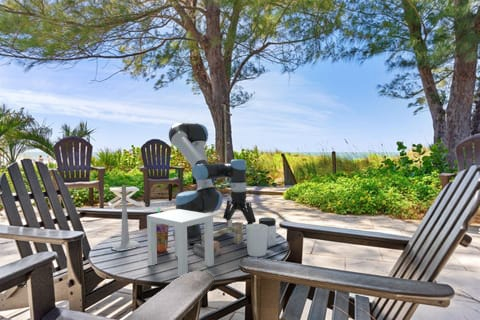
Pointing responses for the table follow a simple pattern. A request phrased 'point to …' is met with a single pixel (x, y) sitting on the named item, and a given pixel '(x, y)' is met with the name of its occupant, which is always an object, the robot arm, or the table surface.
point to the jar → (270, 229)
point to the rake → (236, 228)
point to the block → (216, 246)
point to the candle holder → (256, 239)
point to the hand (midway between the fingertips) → (239, 234)
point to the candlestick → (124, 226)
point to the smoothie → (161, 236)
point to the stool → (180, 235)
